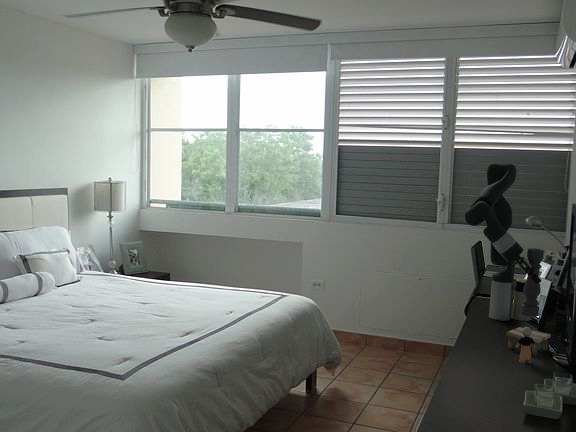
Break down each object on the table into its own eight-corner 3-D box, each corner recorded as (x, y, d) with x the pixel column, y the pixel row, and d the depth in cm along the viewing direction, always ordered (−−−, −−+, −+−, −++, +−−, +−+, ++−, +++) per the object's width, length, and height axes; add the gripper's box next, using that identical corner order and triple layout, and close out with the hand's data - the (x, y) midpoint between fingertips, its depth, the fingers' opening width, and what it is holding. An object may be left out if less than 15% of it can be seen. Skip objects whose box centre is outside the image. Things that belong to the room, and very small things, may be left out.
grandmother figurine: (528, 359, 218) (531, 324, 217) (536, 363, 214) (539, 327, 213) (511, 361, 215) (514, 326, 214) (519, 364, 211) (522, 329, 210)
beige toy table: (518, 342, 239) (519, 327, 239) (549, 349, 231) (550, 334, 230) (505, 347, 231) (506, 332, 230) (536, 355, 222) (538, 339, 222)
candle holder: (538, 317, 226) (545, 251, 223) (521, 315, 228) (527, 249, 225) (537, 313, 232) (544, 249, 229) (520, 311, 234) (526, 247, 231)
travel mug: (533, 322, 272) (536, 282, 270) (515, 321, 272) (518, 281, 271) (526, 317, 280) (530, 279, 278) (509, 316, 280) (512, 278, 278)
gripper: (517, 242, 222) (550, 278, 220) (513, 238, 236) (543, 272, 234) (501, 255, 224) (533, 291, 222) (497, 250, 238) (527, 284, 236)
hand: (538, 281), depth 228 cm, fingers closed on candle holder, 4 cm apart
